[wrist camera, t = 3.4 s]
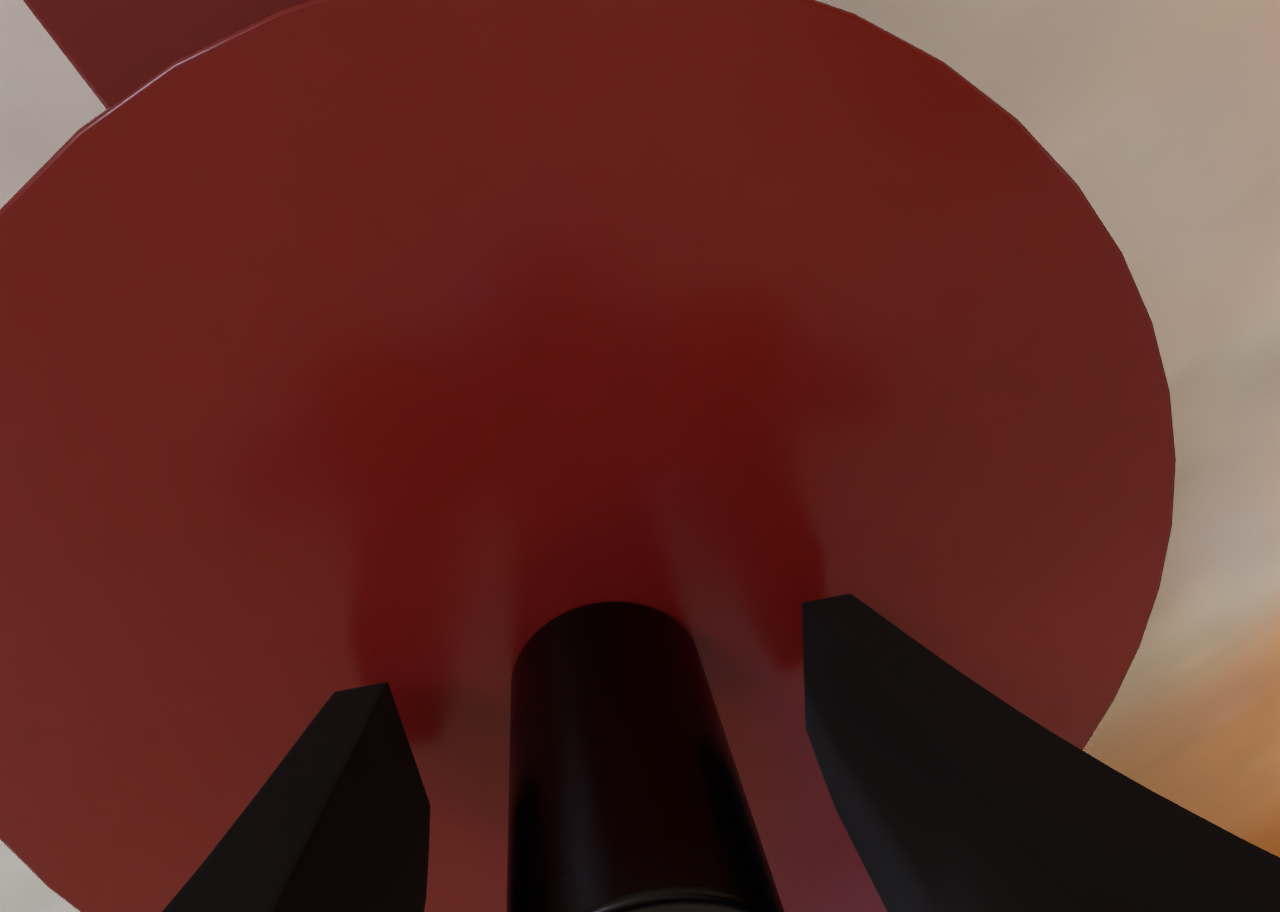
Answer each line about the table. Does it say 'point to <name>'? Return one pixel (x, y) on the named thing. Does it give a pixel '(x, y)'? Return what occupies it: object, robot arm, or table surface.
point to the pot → (140, 34)
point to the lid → (549, 437)
